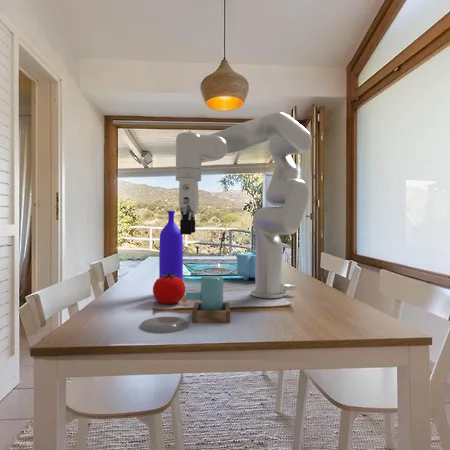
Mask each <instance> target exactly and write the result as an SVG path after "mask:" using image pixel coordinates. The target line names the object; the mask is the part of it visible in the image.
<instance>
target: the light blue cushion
mask: <svg viewBox="0 0 450 450" xmlns="http://www.w3.org/2000/svg"><path fill="white" fill-rule="evenodd" d="M232 253H233V254H234V255H235V257H236V262H237V275H236V276H237V277H243V278H242V281H248V280H249V277H250V279H255V278H256V249H253V250H252V251H251V252H246V253H238V252H235V251H232Z"/></svg>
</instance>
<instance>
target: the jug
mask: <svg viewBox="0 0 450 450" xmlns="http://www.w3.org/2000/svg"><path fill="white" fill-rule="evenodd" d="M185 300H186V301H200V302H201V310H223V302H224V277H223V276H218V275H205V276H201V277H200V291H185Z"/></svg>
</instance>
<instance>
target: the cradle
mask: <svg viewBox="0 0 450 450" xmlns="http://www.w3.org/2000/svg"><path fill="white" fill-rule="evenodd" d="M191 320H192V324H231V305H230V302H229V301H227V302H226V301H223V310H201V301H195V302H194V305H193V308H192V319H191Z"/></svg>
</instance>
